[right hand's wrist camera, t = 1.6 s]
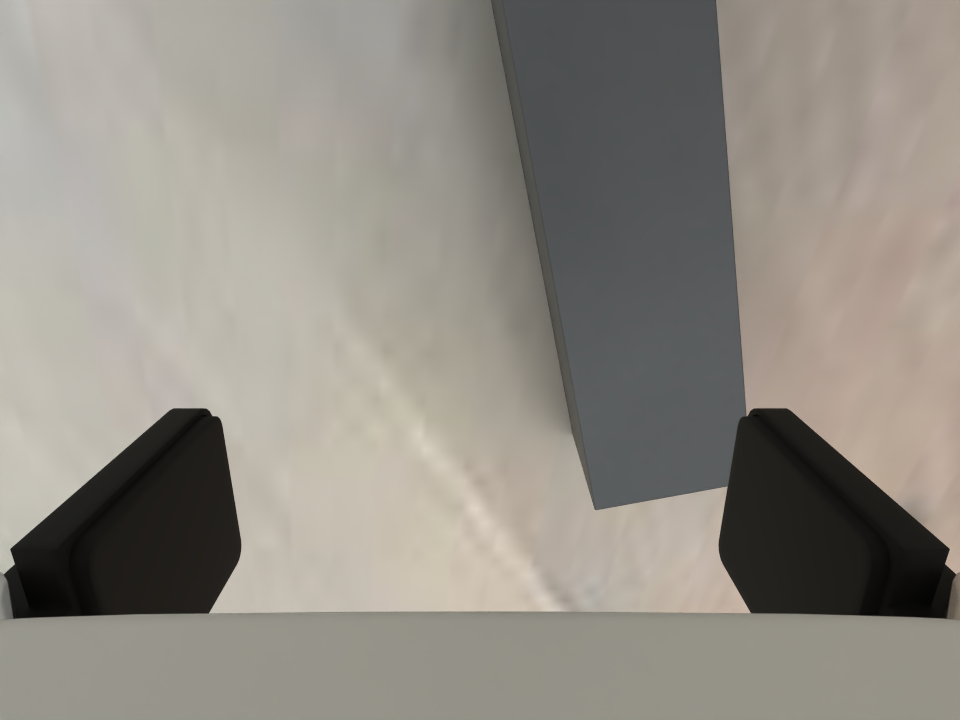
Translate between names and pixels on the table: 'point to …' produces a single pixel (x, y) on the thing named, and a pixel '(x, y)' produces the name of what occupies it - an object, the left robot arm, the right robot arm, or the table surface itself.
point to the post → (632, 233)
